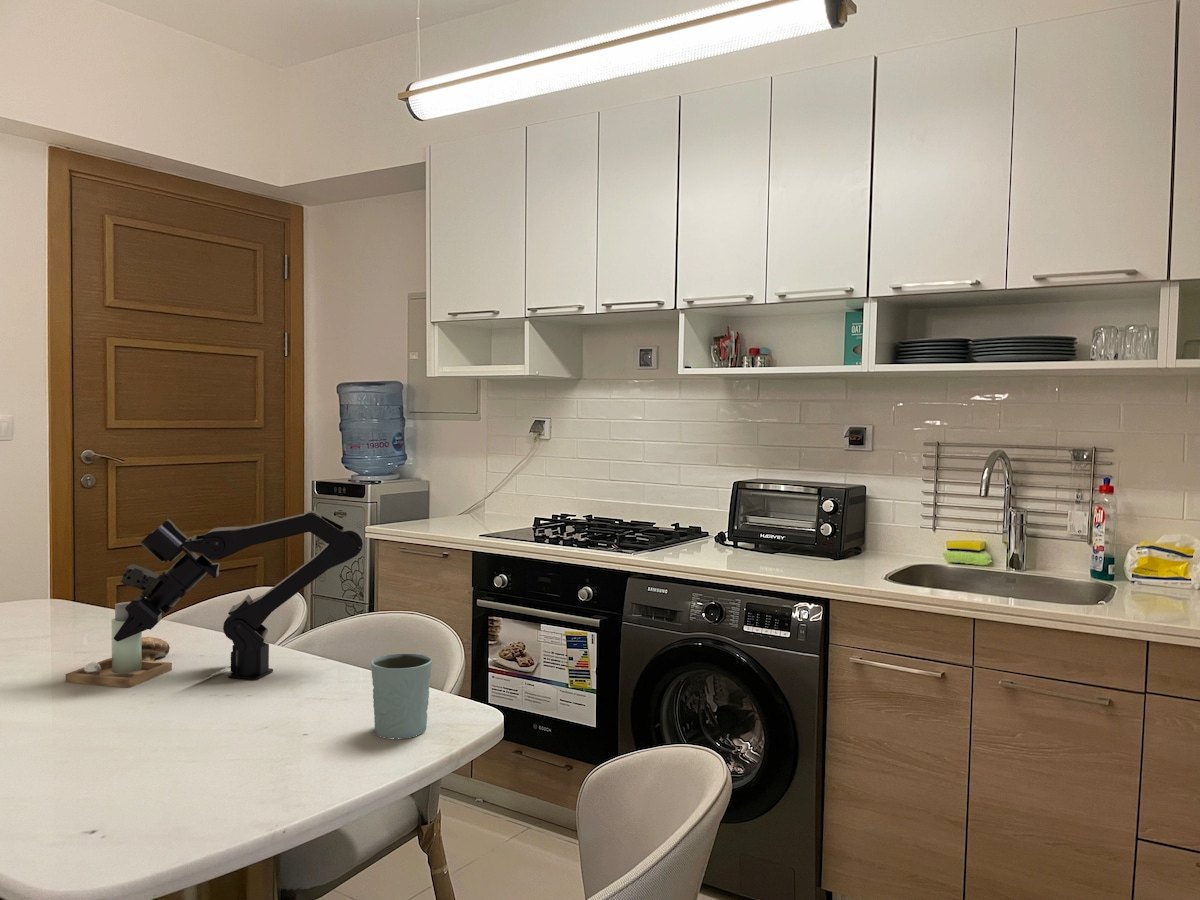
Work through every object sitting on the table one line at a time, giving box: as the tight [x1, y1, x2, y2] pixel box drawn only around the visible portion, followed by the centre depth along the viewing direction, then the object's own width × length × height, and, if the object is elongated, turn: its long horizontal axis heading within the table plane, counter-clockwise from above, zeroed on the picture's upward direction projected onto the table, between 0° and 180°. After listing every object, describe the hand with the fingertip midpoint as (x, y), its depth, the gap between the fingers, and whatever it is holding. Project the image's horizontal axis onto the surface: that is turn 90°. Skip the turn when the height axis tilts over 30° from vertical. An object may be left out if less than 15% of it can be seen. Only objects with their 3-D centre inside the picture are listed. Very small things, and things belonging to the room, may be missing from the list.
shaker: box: [111, 601, 143, 673], centre depth 176 cm, size 5×5×13 cm
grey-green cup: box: [370, 652, 433, 740], centre depth 152 cm, size 10×10×12 cm
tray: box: [65, 657, 173, 689], centre depth 176 cm, size 14×12×2 cm
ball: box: [83, 661, 102, 675], centre depth 175 cm, size 3×3×3 cm
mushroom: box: [142, 636, 170, 661], centre depth 188 cm, size 8×8×6 cm
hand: (119, 636), depth 175 cm, fingers closed on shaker, 5 cm apart
